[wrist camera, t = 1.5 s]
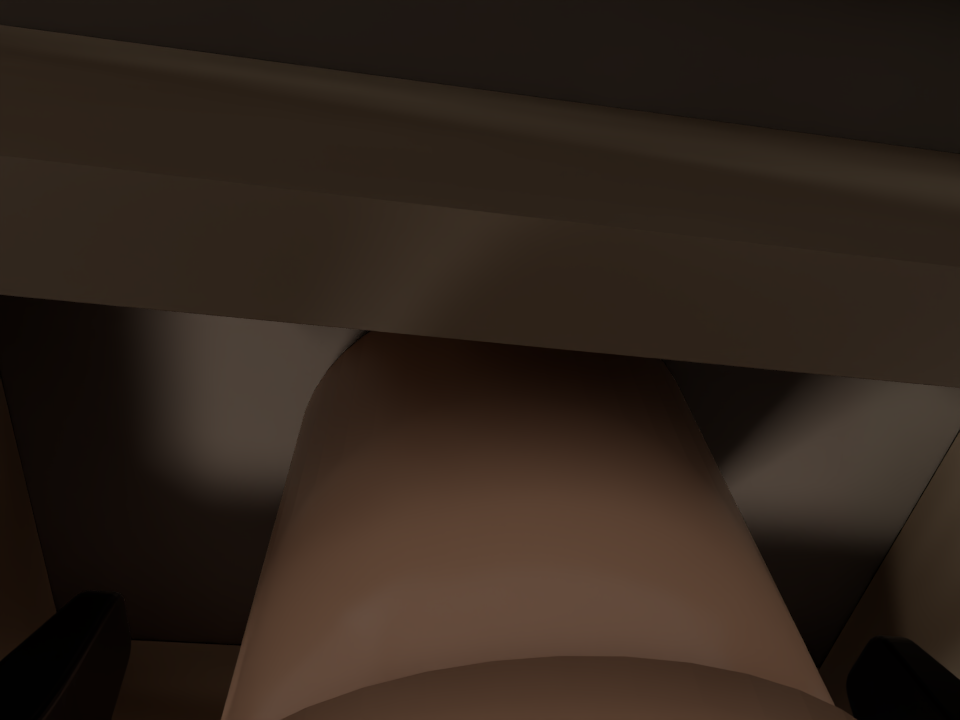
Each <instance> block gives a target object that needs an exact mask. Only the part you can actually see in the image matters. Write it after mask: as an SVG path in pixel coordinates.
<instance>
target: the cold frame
mask: <svg viewBox="0 0 960 720" xmlns="http://www.w3.org/2000/svg"><path fill="white" fill-rule="evenodd" d="M0 295H10V296H20V297H30V298H40V299H51V300H61V301H71V302H82V303H92V304H102V305H112V306H123V307H133V308H143V309H154V310H164V311H174V312H184V313H195V314H205V315H215V316H226V317H236V318H246V319H256V320H267V321H277V322H287V323H297V324H308V325H318V326H328V327H339V328H349V329H359V330H369V331H380V332H390V333H400V334H411V335H421V336H431V337H441V338H452V339H462V340H472V341H482V342H493V343H503V344H513V345H524V346H534V347H544V348H554V349H565V350H575V351H585V352H596V353H606V354H616V355H626V356H637V357H647V358H657V359H668V360H678V361H688V362H698V363H709V364H719V365H729V366H739V367H750V368H760V369H770V370H781V371H791V372H801V373H811V374H822V375H832V376H842V377H853V378H863V379H873V380H883V381H894V382H904V383H914V384H924V385H935V386H945V387H955V388H960V154H956V153H949V152H942V151H934V150H927V149H919V148H912V147H904V146H897V145H890V144H882V143H875V142H867V141H860V140H852V139H845V138H838V137H830V136H823V135H815V134H808V133H800V132H793V131H786V130H778V129H771V128H763V127H756V126H748V125H741V124H734V123H726V122H719V121H711V120H704V119H696V118H689V117H682V116H674V115H667V114H659V113H652V112H644V111H637V110H630V109H622V108H615V107H607V106H600V105H592V104H585V103H578V102H570V101H563V100H555V99H548V98H540V97H533V96H525V95H518V94H511V93H503V92H496V91H488V90H481V89H473V88H466V87H459V86H451V85H444V84H436V83H429V82H421V81H414V80H407V79H399V78H392V77H384V76H377V75H369V74H362V73H355V72H347V71H340V70H332V69H325V68H317V67H310V66H303V65H295V64H288V63H280V62H273V61H265V60H258V59H251V58H243V57H236V56H228V55H221V54H213V53H206V52H199V51H191V50H184V49H176V48H169V47H161V46H154V45H146V44H139V43H132V42H124V41H117V40H109V39H102V38H94V37H87V36H80V35H72V34H65V33H57V32H50V31H42V30H35V29H28V28H20V27H13V26H5V25H0ZM56 613H57V612H56V608H55V604H54V600H53V596H52V591H51V587H50V583H49V579H48V575H47V570H46V566H45V562H44V558H43V554H42V549H41V545H40V541H39V537H38V532H37V528H36V524H35V520H34V516H33V511H32V507H31V503H30V499H29V495H28V490H27V486H26V482H25V478H24V474H23V469H22V465H21V461H20V457H19V453H18V448H17V444H16V440H15V436H14V432H13V427H12V423H11V419H10V415H9V410H8V406H7V402H6V398H5V394H4V389H3V385H2V381H1V377H0V661H1V660H2V659H3V658H4V657H5V656H6V655H8V654H9V653H10V652H11V651H12V650H13V649H15V648H16V647H17V646H18V645H19V644H20V643H22V642H23V641H24V640H25V639H26V638H28V637H29V636H30V635H31V634H32V633H33V632H35V631H36V630H37V629H38V628H39V627H40V626H42V625H43V624H44V623H45V622H46V621H47V620H49V619H50V618H51V617H52V616H53V615H54V614H56ZM877 635H884V636H900V637H905V638H908V639H910V640H912V641H913V642H915V643H916V644H917V645H919V646H920V647H921V648H922V649H923V650H925V651H926V652H927V653H928V654H929V655H931V656H932V657H933V658H934V659H936V660H937V661H938V662H939V663H940V664H942V665H943V666H944V667H945V668H946V669H948V670H949V671H950V672H951V673H952V674H954V675H955V676H956V677H957V678H959V679H960V432H959V434H958V435H957V437H956V439H955V440H954V442H953V444H952V446H951V447H950V449H949V451H948V452H947V454H946V456H945V457H944V459H943V461H942V462H941V464H940V466H939V468H938V469H937V471H936V473H935V474H934V476H933V478H932V479H931V481H930V483H929V485H928V486H927V488H926V490H925V491H924V493H923V495H922V496H921V498H920V500H919V501H918V503H917V505H916V507H915V508H914V510H913V512H912V513H911V515H910V517H909V518H908V520H907V522H906V523H905V525H904V527H903V529H902V530H901V532H900V534H899V535H898V537H897V539H896V540H895V542H894V544H893V545H892V547H891V549H890V551H889V552H888V554H887V556H886V557H885V559H884V561H883V562H882V564H881V566H880V567H879V569H878V571H877V573H876V574H875V576H874V578H873V579H872V581H871V583H870V584H869V586H868V588H867V589H866V591H865V593H864V595H863V596H862V598H861V600H860V601H859V603H858V605H857V606H856V608H855V610H854V611H853V613H852V615H851V617H850V618H849V620H848V622H847V623H846V625H845V627H844V628H843V630H842V632H841V633H840V635H839V637H838V639H837V640H836V642H835V644H834V645H833V647H832V649H831V650H830V652H829V654H828V655H827V657H826V659H825V661H824V662H823V664H822V666H821V667H820V669H819V671H818V672H819V674H820V676H821V678H822V680H823V682H824V684H825V686H826V688H827V690H828V692H829V694H830V696H831V698H832V700H833V702H834V705H835V706H836V707H838V708H840V709H842V710H844V711H845V712H847V713H848V714H850V715H851V716H853V714H852V711H851V708H850V704H849V701H848V697H847V692H846V679H847V675H848V673H849V671H850V670H851V668H852V666H853V665H854V663H855V662H856V660H857V658H858V657H859V655H860V654H861V652H862V650H863V649H864V647H865V646H866V644H867V642H868V641H869V640H870V639H871V638H872V637H874V636H877ZM240 648H241V646H237V645H217V644H197V643H177V642H158V641H138V640H131V652H130V657H129V661H128V665H127V668H126V672H125V675H124V678H123V682H122V685H121V689H120V692H119V695H118V699H117V702H116V706H115V709H114V712H113V716H112V719H111V720H221V718H222V714H223V710H224V707H225V703H226V699H227V696H228V692H229V688H230V685H231V681H232V677H233V674H234V670H235V666H236V663H237V659H238V655H239V652H240Z"/></svg>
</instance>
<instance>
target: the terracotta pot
mask: <svg viewBox="0 0 960 720" xmlns="http://www.w3.org/2000/svg"><path fill="white" fill-rule="evenodd" d="M221 720H857V719H856V718H854V717H853V716H851V715H850V714H848V713H847V712H845V711H844V710H842V709H840V708H838V707H836V706H835V705H834V702H833V700H832V698H831V696H830V694H829V692H828V690H827V688H826V686H825V684H824V682H823V680H822V678H821V676H820V674H819V672H818V670H817V668H816V666H815V664H814V662H813V660H812V658H811V656H810V654H809V652H808V649H807V647H806V645H805V643H804V641H803V639H802V637H801V635H800V633H799V631H798V629H797V627H796V625H795V623H794V621H793V619H792V617H791V615H790V613H789V611H788V609H787V607H786V605H785V603H784V601H783V599H782V596H781V594H780V592H779V590H778V588H777V586H776V584H775V582H774V580H773V578H772V576H771V574H770V572H769V570H768V568H767V566H766V564H765V562H764V560H763V558H762V556H761V554H760V552H759V550H758V548H757V546H756V543H755V541H754V539H753V537H752V535H751V533H750V531H749V529H748V527H747V525H746V523H745V521H744V519H743V517H742V515H741V513H740V511H739V509H738V507H737V505H736V503H735V501H734V499H733V497H732V495H731V493H730V490H729V488H728V486H727V484H726V482H725V480H724V478H723V476H722V474H721V472H720V470H719V468H718V466H717V464H716V462H715V460H714V458H713V456H712V454H711V452H710V450H709V448H708V446H707V444H706V442H705V440H704V437H703V435H702V433H701V431H700V429H699V427H698V425H697V423H696V421H695V419H694V417H693V415H692V413H691V411H690V409H689V407H688V405H687V403H686V401H685V399H684V397H683V395H682V393H681V391H680V389H679V387H678V384H677V383H676V381H675V379H674V378H673V376H672V375H671V373H670V371H669V370H668V368H667V367H666V365H665V363H664V362H663V361H662V360H661V359H657V358H647V357H637V356H626V355H616V354H606V353H596V352H585V351H575V350H565V349H554V348H544V347H534V346H524V345H513V344H503V343H493V342H482V341H472V340H462V339H452V338H441V337H431V336H421V335H411V334H400V333H390V332H380V331H370V332H369V333H367V334H365V335H364V336H363V337H362V338H360V339H359V340H358V341H357V342H356V343H354V344H353V345H352V346H351V347H350V348H348V349H347V350H346V351H345V352H344V353H343V354H342V355H341V356H340V357H339V358H338V359H337V361H336V362H335V363H334V364H333V365H332V366H331V367H330V368H329V369H328V371H327V372H326V374H325V375H324V377H323V378H322V380H321V381H320V383H319V384H318V386H317V387H316V389H315V390H314V393H313V395H312V397H311V399H310V401H309V403H308V406H307V408H306V410H305V414H304V417H303V421H302V425H301V428H300V432H299V436H298V439H297V443H296V447H295V450H294V454H293V458H292V461H291V465H290V469H289V472H288V476H287V480H286V483H285V487H284V491H283V494H282V498H281V502H280V505H279V509H278V513H277V516H276V520H275V523H274V527H273V531H272V534H271V538H270V542H269V545H268V549H267V553H266V556H265V560H264V564H263V567H262V571H261V575H260V578H259V582H258V586H257V589H256V593H255V597H254V600H253V604H252V608H251V611H250V615H249V619H248V622H247V626H246V630H245V633H244V637H243V641H242V644H241V648H240V652H239V655H238V659H237V663H236V666H235V670H234V674H233V677H232V681H231V685H230V688H229V692H228V696H227V699H226V703H225V707H224V710H223V714H222V718H221Z"/></svg>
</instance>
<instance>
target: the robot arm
mask: <svg viewBox="0 0 960 720" xmlns="http://www.w3.org/2000/svg"><path fill="white" fill-rule="evenodd" d="M130 652H131V634H130V628H129V622H128V616H127V610H126V604H125V599H124V597H123V595H122V594H121V593H119V592H112V591H94V590H89V591H84V592H82V593H80V594H78V595H77V596H76V597H74V598H73V599H72V600H71V601H70V602H68V603H67V604H66V605H65V606H64V607H63V608H61V609H60V610H59V611H58V612H57V613H56V614H54V615H53V616H52V617H51V618H50V619H49V620H47V621H46V622H45V623H44V624H43V625H42V626H40V627H39V628H38V629H37V630H36V631H35V632H33V633H32V634H31V635H30V636H29V637H28V638H26V639H25V640H24V641H23V642H22V643H20V644H19V645H18V646H17V647H16V648H15V649H13V650H12V651H11V652H10V653H9V654H8V655H6V656H5V657H4V658H3V659H2V660H1V661H0V720H111V719H112V716H113V712H114V709H115V706H116V702H117V699H118V695H119V692H120V689H121V685H122V682H123V678H124V675H125V672H126V668H127V665H128V661H129V657H130ZM846 692H847V697H848V701H849V704H850V708H851V711H852V714H853V717H854V718H856V719H857V720H960V679H959V678H957V677H956V676H955V675H954V674H952V673H951V672H950V671H949V670H948V669H946V668H945V667H944V666H943V665H942V664H940V663H939V662H938V661H937V660H936V659H934V658H933V657H932V656H931V655H929V654H928V653H927V652H926V651H925V650H923V649H922V648H921V647H920V646H919V645H917V644H916V643H915V642H913V641H912V640H910V639H908V638H905V637H900V636H884V635H877V636H874V637H872V638H871V639H870V640H869V641H868V642H867V644H866V646H865V647H864V649H863V650H862V652H861V654H860V655H859V657H858V658H857V660H856V662H855V663H854V665H853V666H852V668H851V670H850V671H849V673H848V675H847V679H846Z"/></svg>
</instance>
